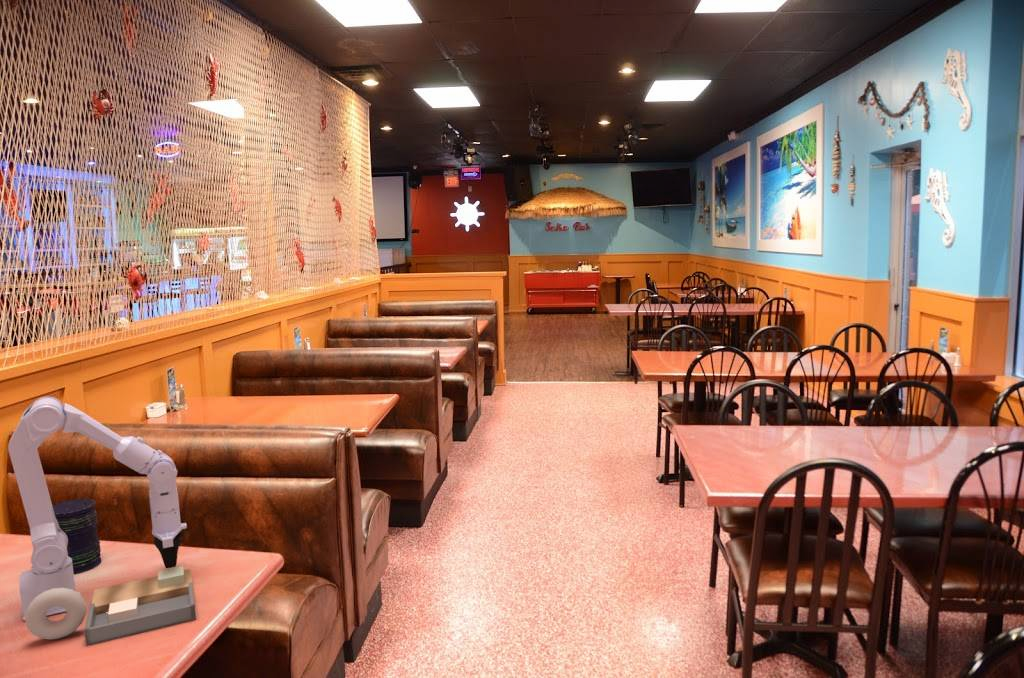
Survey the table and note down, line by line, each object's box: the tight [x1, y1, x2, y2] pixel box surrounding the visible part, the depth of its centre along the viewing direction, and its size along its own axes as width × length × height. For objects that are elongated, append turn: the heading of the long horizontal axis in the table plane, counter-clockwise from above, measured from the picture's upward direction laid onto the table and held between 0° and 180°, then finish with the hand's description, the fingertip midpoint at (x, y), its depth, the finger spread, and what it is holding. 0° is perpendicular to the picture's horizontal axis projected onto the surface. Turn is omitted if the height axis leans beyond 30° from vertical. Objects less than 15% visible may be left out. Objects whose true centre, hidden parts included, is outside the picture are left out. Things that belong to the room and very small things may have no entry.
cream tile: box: [108, 598, 138, 623], centre depth 144 cm, size 5×5×2 cm
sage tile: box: [157, 565, 185, 589], centre depth 155 cm, size 5×5×2 cm
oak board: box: [91, 569, 193, 615], centre depth 153 cm, size 19×9×2 cm, turn 116°
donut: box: [24, 588, 87, 641], centre depth 137 cm, size 10×4×10 cm, turn 116°
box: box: [84, 581, 197, 646], centre depth 143 cm, size 19×12×3 cm, turn 116°
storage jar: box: [52, 498, 102, 575], centre depth 168 cm, size 10×10×15 cm
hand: (170, 566), depth 161 cm, fingers closed
